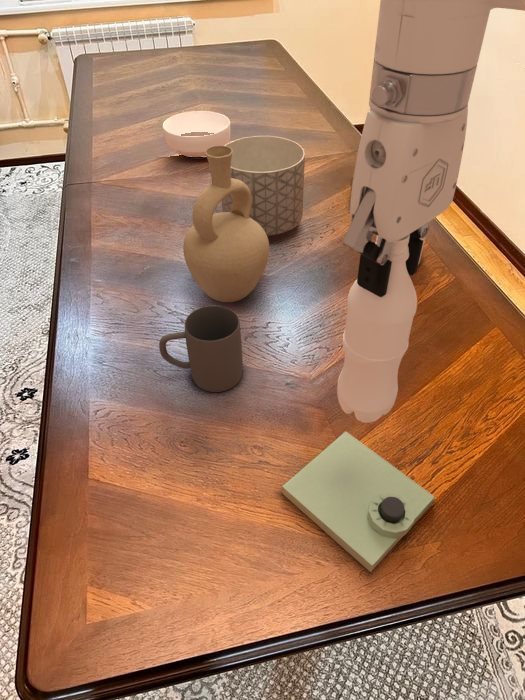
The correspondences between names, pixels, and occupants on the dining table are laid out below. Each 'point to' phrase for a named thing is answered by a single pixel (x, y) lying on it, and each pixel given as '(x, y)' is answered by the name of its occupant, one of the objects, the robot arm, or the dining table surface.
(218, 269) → the vase
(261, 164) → the planter
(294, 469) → the dining table surface
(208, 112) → the bowl
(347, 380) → the water bottle
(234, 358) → the mug
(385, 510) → the button
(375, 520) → the scale
